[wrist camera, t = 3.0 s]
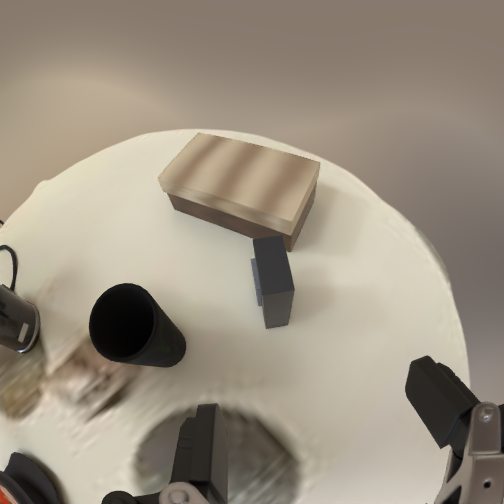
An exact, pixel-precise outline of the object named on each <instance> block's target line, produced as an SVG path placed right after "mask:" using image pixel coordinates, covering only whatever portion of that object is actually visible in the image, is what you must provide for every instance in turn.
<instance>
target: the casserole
mask: <svg viewBox="0 0 504 504" xmlns="http://www.w3.org/2000/svg"><path fill="white" fill-rule="evenodd" d="M0 504H59V501H58V497H57V494H56V490H55V488H54V487H53V485H52V483H51V481H50V480H49V479H48V477H47V476H46V475H45V473H44V472H43V471H42V470H41V469H40V468H39V467H38V466H37V465H36V464H35V463H34V462H33V461H32V460H30V459H29V458H28V457H26V456H25V455H23V454H21V453H17V452H14V453H12V454H11V457H10V460H9V463H8V466H7V467H6V469H5V470H4V472H2V471H0Z"/></svg>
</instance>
